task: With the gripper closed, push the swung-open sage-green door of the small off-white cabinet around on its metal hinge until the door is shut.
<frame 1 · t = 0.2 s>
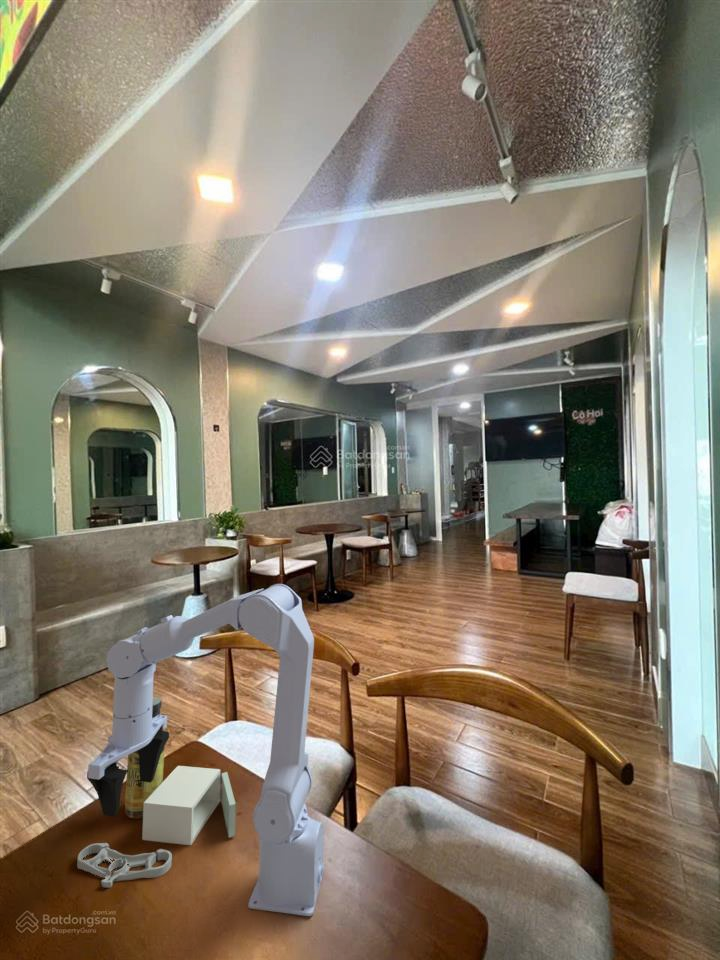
hand: (129, 796, 63), 10 cm above the table, tool pointing down, fingers open, 7 cm apart
cabinet door: (227, 801, 72), point 3 cm above the table, hinge at 35.0°
sauce bottle: (143, 810, 74), on the table
cabinet: (183, 819, 71), on the table
bracket: (122, 870, 62), on the table
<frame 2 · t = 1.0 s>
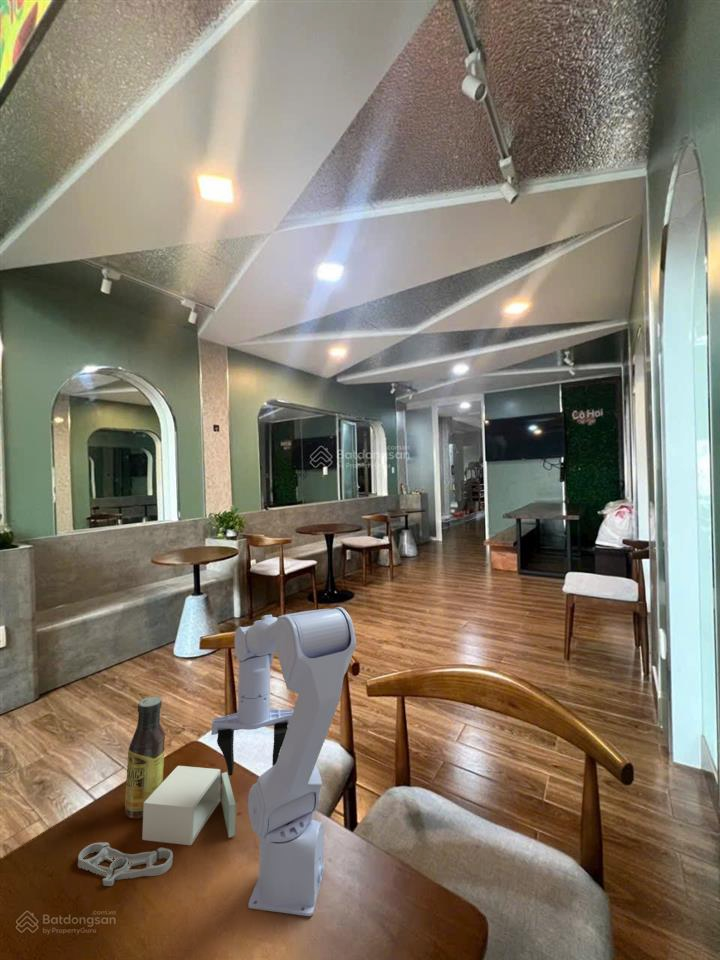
hand: (252, 768, 71), 9 cm above the table, tool pointing down, fingers open, 7 cm apart
nothing on the table moved.
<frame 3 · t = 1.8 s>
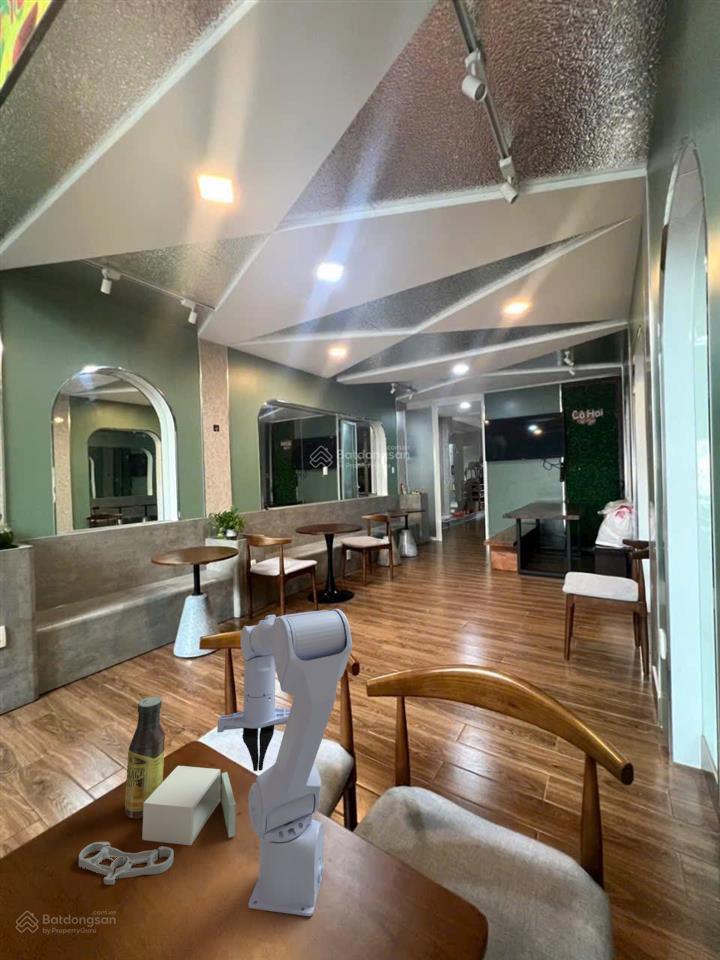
hand: (258, 767, 71), 9 cm above the table, tool pointing down, fingers closed
nothing on the table moved.
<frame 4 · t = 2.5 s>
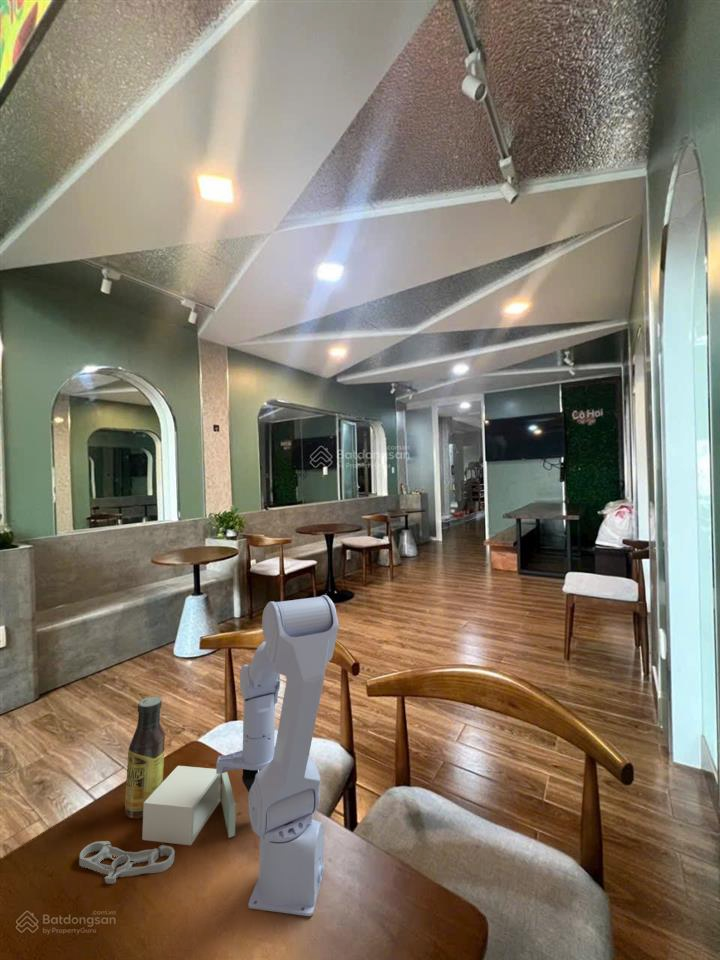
hand: (257, 808, 71), 2 cm above the table, tool pointing down, fingers closed
nothing on the table moved.
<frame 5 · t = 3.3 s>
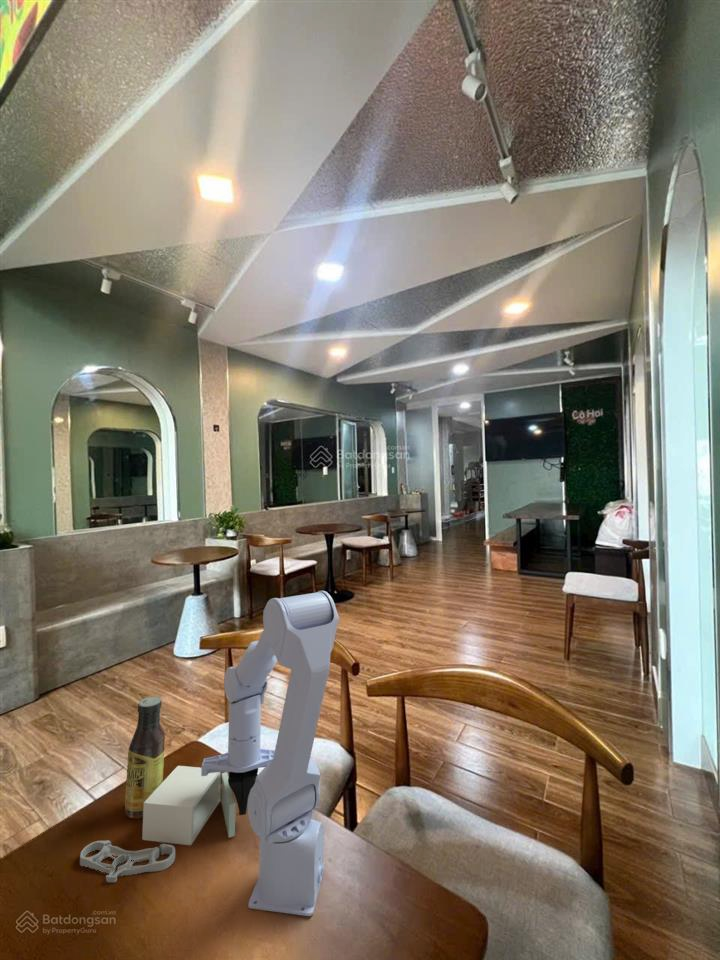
hand: (243, 810, 70), 2 cm above the table, tool pointing down, fingers closed
cabinet door: (227, 801, 72), point 3 cm above the table, hinge at 34.9°, touching gripper
everything else where it was.
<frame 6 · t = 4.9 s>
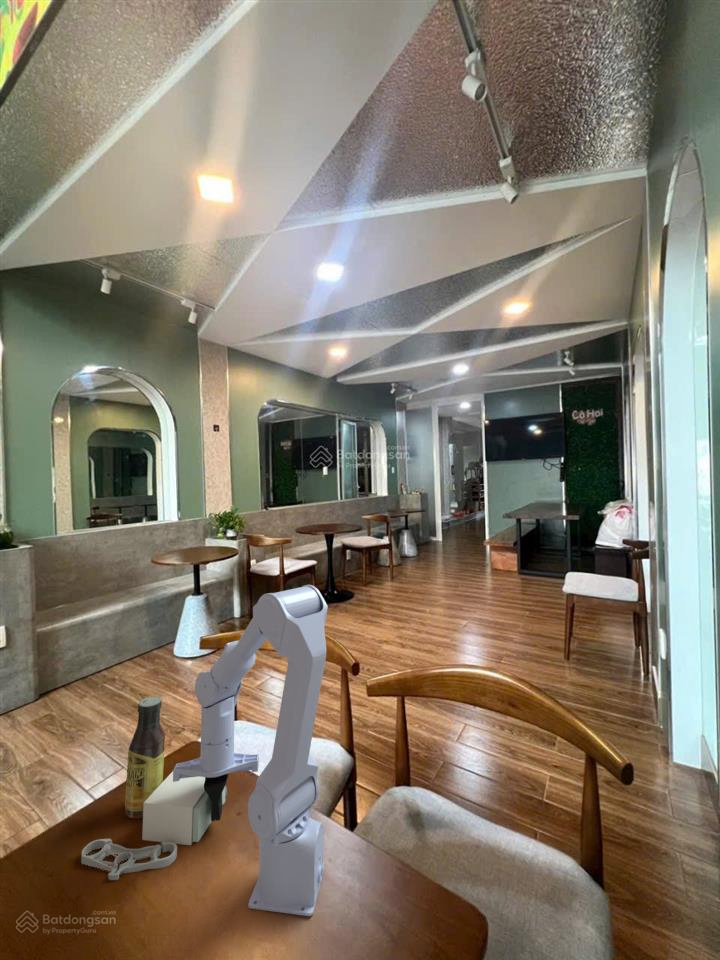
hand: (216, 816, 69), 2 cm above the table, tool pointing down, fingers closed
cabinet door: (211, 803, 71), point 3 cm above the table, hinge at -1.1°, touching gripper
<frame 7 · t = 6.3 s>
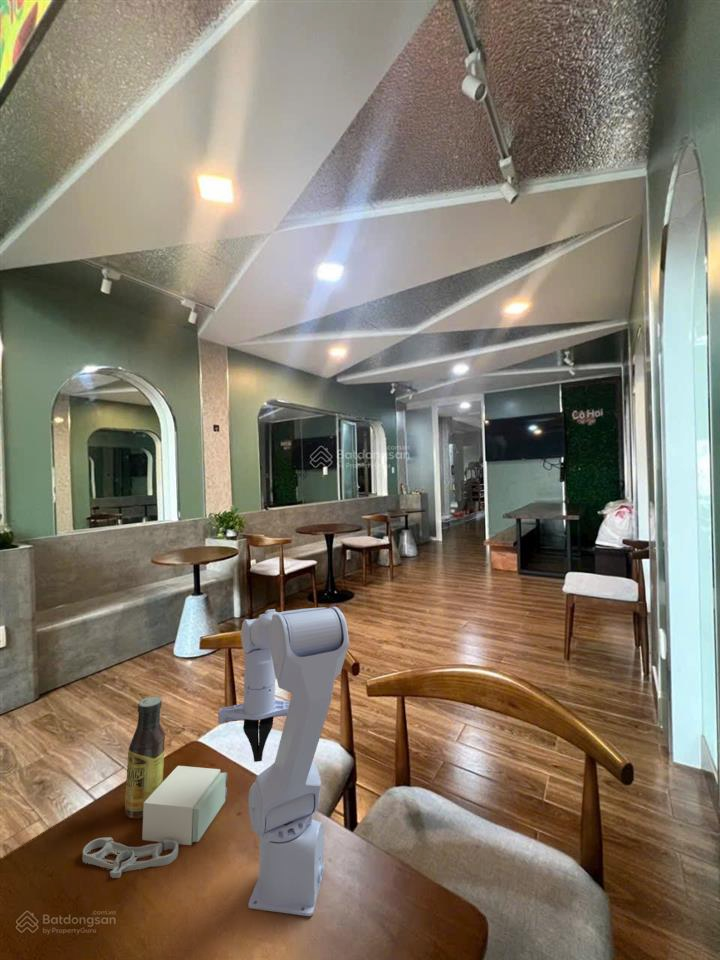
hand: (258, 758, 72), 10 cm above the table, tool pointing down, fingers closed
cabinet door: (211, 803, 71), point 3 cm above the table, hinge at -1.2°
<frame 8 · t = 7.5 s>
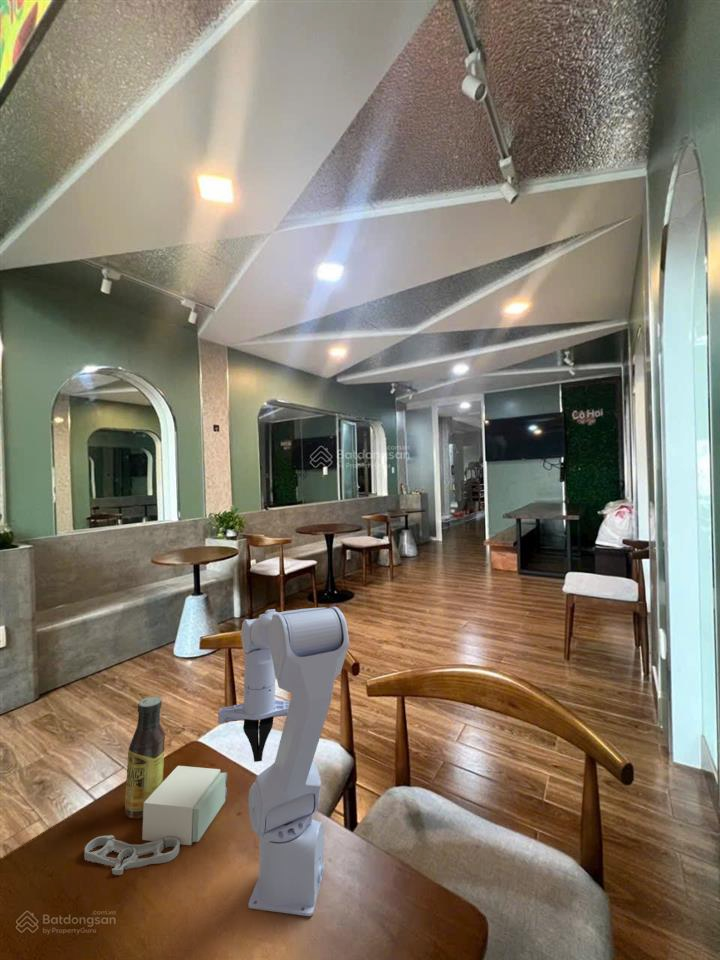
hand: (258, 758, 72), 10 cm above the table, tool pointing down, fingers closed
at the end: cabinet door at -1° (first picture: +35°); bracket moved 2.3 cm from its start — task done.
